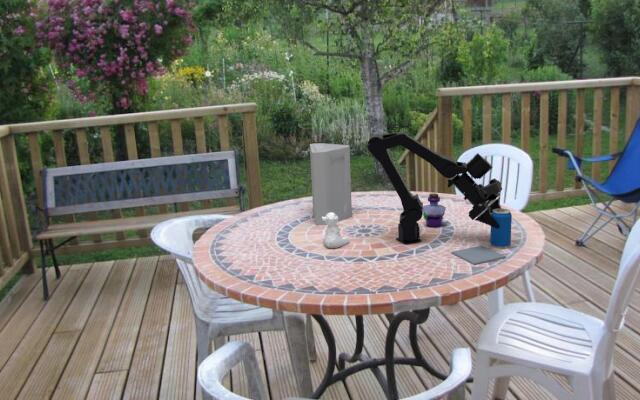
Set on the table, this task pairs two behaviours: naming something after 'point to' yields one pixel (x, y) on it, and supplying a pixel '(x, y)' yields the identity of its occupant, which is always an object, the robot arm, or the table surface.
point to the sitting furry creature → (333, 232)
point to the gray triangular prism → (330, 181)
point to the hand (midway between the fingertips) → (502, 223)
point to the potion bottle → (433, 212)
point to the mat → (478, 255)
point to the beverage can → (501, 228)
